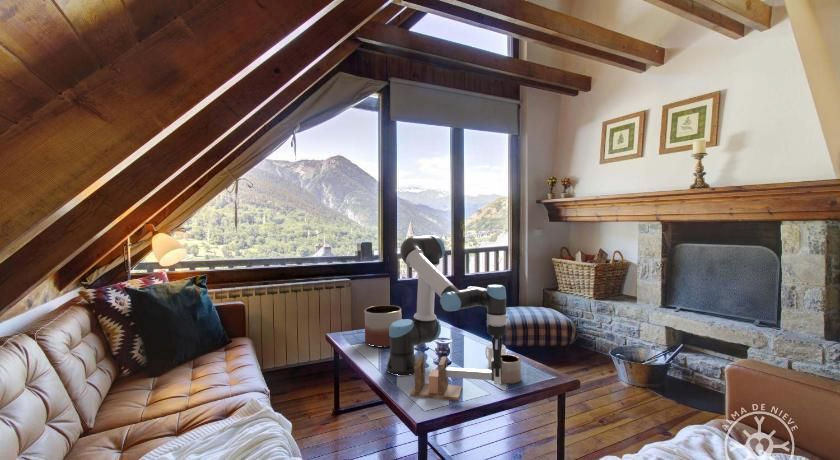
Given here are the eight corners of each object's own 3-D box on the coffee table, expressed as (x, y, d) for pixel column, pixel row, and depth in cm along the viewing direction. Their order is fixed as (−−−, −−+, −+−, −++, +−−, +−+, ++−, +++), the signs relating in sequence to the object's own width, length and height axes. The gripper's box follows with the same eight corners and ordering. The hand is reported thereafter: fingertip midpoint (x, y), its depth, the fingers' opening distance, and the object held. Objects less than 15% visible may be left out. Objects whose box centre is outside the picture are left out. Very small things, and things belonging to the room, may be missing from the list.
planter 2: (493, 375, 181) (492, 354, 181) (516, 374, 182) (516, 353, 182) (500, 385, 170) (499, 363, 170) (524, 383, 171) (524, 362, 171)
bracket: (409, 396, 162) (409, 363, 162) (416, 385, 173) (415, 354, 172) (458, 400, 157) (457, 366, 157) (462, 388, 168) (461, 357, 167)
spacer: (428, 392, 162) (428, 376, 162) (432, 385, 169) (432, 369, 169) (438, 393, 161) (438, 376, 161) (441, 386, 168) (441, 370, 168)
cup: (497, 371, 185) (496, 350, 185) (479, 364, 195) (479, 344, 195) (509, 367, 190) (509, 346, 190) (492, 360, 200) (491, 340, 200)
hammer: (442, 377, 162) (441, 358, 162) (444, 373, 166) (443, 354, 166) (501, 381, 156) (501, 361, 156) (502, 377, 160) (501, 358, 160)
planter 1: (401, 348, 223) (400, 313, 222) (362, 349, 223) (361, 313, 222) (403, 336, 245) (402, 304, 244) (368, 337, 245) (367, 305, 244)
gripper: (505, 330, 149) (506, 391, 149) (507, 318, 165) (507, 373, 166) (485, 329, 150) (486, 389, 151) (488, 318, 167) (489, 372, 168)
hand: (497, 381), depth 159 cm, fingers closed on hammer, 4 cm apart
